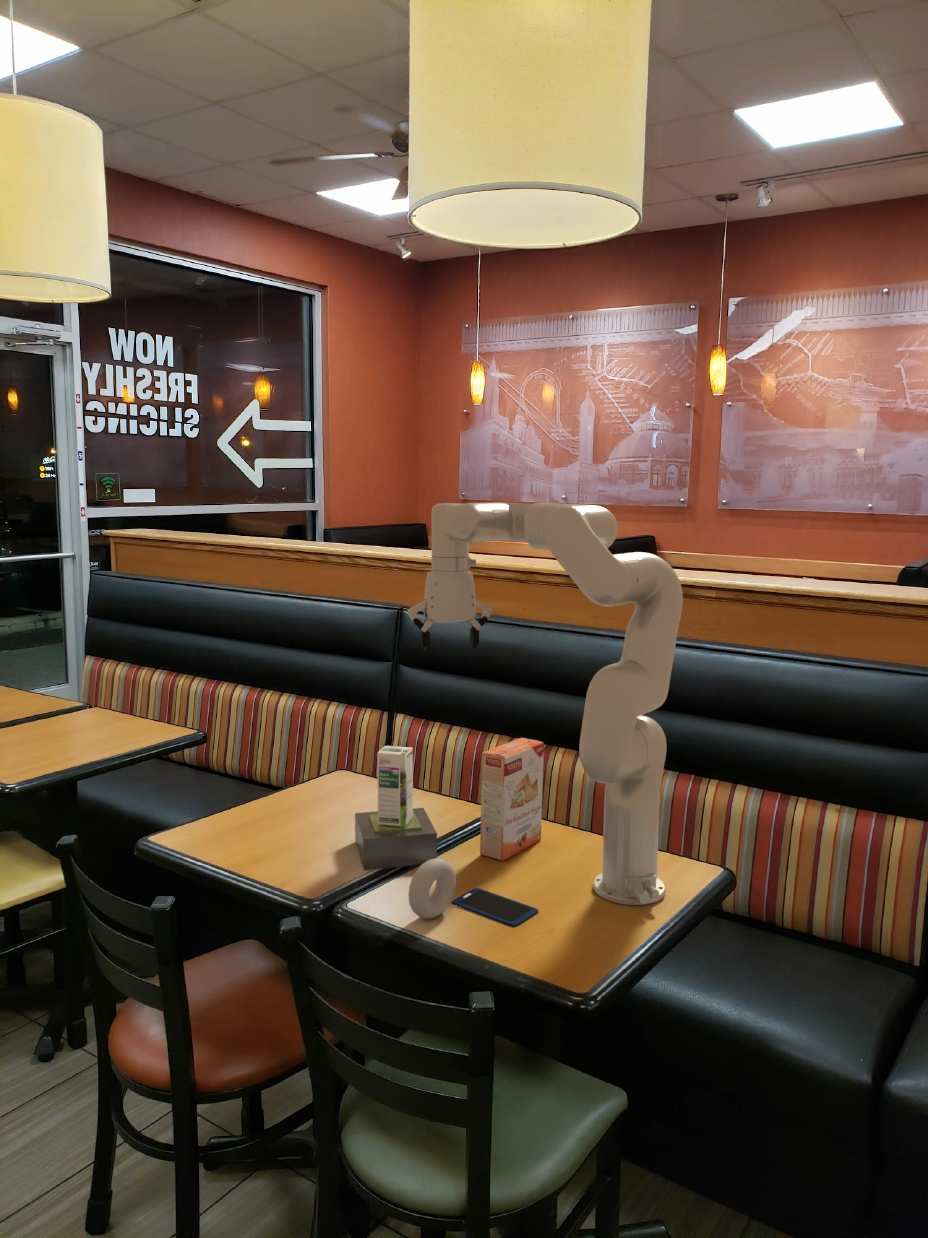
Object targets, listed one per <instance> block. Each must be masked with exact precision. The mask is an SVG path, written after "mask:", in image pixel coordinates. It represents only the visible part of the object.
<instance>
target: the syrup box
mask: <svg viewBox="0 0 928 1238" xmlns="http://www.w3.org/2000/svg"><path fill="white" fill-rule="evenodd" d="M413 751H414V748H413V746H410V747H407V746H394V745H393V746H392V745H385V746H383V747H381V749H380V750H379V751H378V752H377V754H376V760H377V761H376V766H377V770H376V772H377V774H376V775H377V811H378V825H391V826H401V827H405V826H406V825H407V824H408V823H409V821H410V820H411V819H412V817H413V809H414V801H413V800H414V795H413V794H414V793H413V792H414V780H413V779H414V776H413V774H414V773H413V771H414V770H413V769H414V768H413V767H414V765H413V762H414V761H413V759H414V758H413V757H414V756H413Z"/></svg>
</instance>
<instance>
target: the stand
mask: <svg viewBox="0 0 928 1238" xmlns="http://www.w3.org/2000/svg"><path fill="white" fill-rule="evenodd" d="M354 832H355V834H354V835H355V836H354V837H355V838H354V840H355V841H354V842H355V845H356V848H357V852H358V855H359V859H360V862H361V866H362V869H363V871H366V870H368V871H369V870H370V871H371V870H378V869H390V868H399V867H411V866H421V865H422V864H423V863H425V862H426V861H428V860H431V859H435V858H438V832H437V831H436V829H435V827H434V825H433V823H432V821H431V819H430V817H429V816H428V814H427V812H426V810H425V808H424V807H415V808H413V817H412V819H411V820H410V821H409V823H408V824H407V825H406V826H405V827H401V826H391V825H378V810H377V811H368V812H367V811H366V812H355V813H354Z"/></svg>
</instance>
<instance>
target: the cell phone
mask: <svg viewBox="0 0 928 1238" xmlns="http://www.w3.org/2000/svg"><path fill="white" fill-rule="evenodd" d="M453 904H454V906H455V905H457V906H456V907H459V906H460V907H459V908H461V907H462V909H463V908H464V909H463V910H465V911H466V910H467V911H469V910H470V911H469V912H471V911H472V912H471V913H474V912H475V914H477V915H480V916H482V915H483V917H484V918H487V919H491V920H493V921H496V922H499V923H501V924H504V925H506V926H509V927H512V928H517V927H519V926H521V925H522V924H524V923H525V922H527V921H528V920H530V919H532V918H534V917H535V916H537V915H538V914H539V909H538V908H536V907H534V906H531V905H528V904H526V903H523V902H519V901H517V900H514V899H510V898H509V897H505V896H503V895H499V894H497V893H494V892H490V891H489V890H485V889H482V888H479V887H475V888H473V889H470V890H469V891H466V892H465V893H463V894H462V895H459V896H458V897H456V898H454V899H452V900H451V905H453Z"/></svg>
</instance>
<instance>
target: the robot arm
mask: <svg viewBox="0 0 928 1238" xmlns="http://www.w3.org/2000/svg"><path fill="white" fill-rule="evenodd" d="M618 530H619V527H618V522H617V519H616V517H615V516H614V514H613V513H612V512H611V511H610V510H609V509H607V508H605V507H603V506H601V505H596V504H583V503H582V504H581V503H580V504H578V503H555V502H535V503H522V502H521V503H518V502H490V501H489V502H468V503H459V502H458V503H457V502H456V503H455V502H454V503H450V502H448V503H447V502H445V503H444V502H443V503H436V504H435V505H433V506H432V509H431V571H427V574H426V579H425V585H424V595H423V596H424V598H423V601H421V602H418V603H417V604H416V605H413V606H412V607H410V608H408V609H407V612H406V613H408V615H409V618H410V619H411V622H412V623H413V624H414V625H415V626H416V627H417V628H418V629H419V630H420V645H421V647H422V648H423V650H424V651H425V652H426V653H427V652H430V651H431V632H430V631H429V629H430V628H431V627H432V625H433V624H435V623H461V622H463V623H464V622H468V623H469V624H470V625H471V627H470V629H469V647H470V649H472V650H473V651H475V650H476V651H477V647H478V646H479V645H480V630H482V627H483V626H484V625H485V624H486V623H487V622H488V620H489V618H490V616H491V614H492V612H493V607H491V606H489V605H487V604H485V603H483V602H481V601H479V600H477V598H476V589H475V580H474V575H473V571H470V570H471V567H474V566H475V567H476V566H477V561H476V559H474V558H471V557H470V543H481V542H482V543H483V542H497V541H498V542H499V541H508V542H509V541H510V542H523V543H527V544H528V545H529V546H530V547H531V548H533V549H534V550H535V549H536V550H545V551H550V552H551V554H552V555H553V556H554V557H553V558H554V559H555V560H556V561H557V562H558V564H559V565H560V566H561V567H562V568H563V570H564V571H565V573H566V574H567V575H568V576H569V577H570V579H571V580H572V581H573V583H574V584H575V585H576V586H577V587H578V588H579V590H580V591H581V592H582V594H584V596H585V597H586V598H588V599H589V600H590V601H591V602H592V603H594V604H596V605H598V606H602V607H606V608H607V607H617V606H622V605H628V604H634V610H633V612H632V615H631V617H630V618H629V621H628V624H627V626H626V630H625V636H624V641H623V642H624V643H623V649H622V653H621V657H620V660H619V661H618V662H614V663H612V664H608V665H606V666H604V667H602V668H601V669H599V670H598V671H596V673H595V674H594V675H593V677H592V679H591V681H590V682H589V685H588V688H587V690H586V691H587V692H586V697H585V700H584V701H585V703H584V710H583V715H582V716H583V717H582V724H581V729H580V730H581V731H580V737H579V744H578V745H579V748H578V750H579V752H578V753H579V761H580V764H581V766H582V769H583V771H584V772H585V773H586V775H587V776H588V777H589V778H591V779H592V780H593V781H595V782H596V783H600V784H605V788H604V804H603V805H604V806H603V832H602V833H603V834H602V835H603V836H602V838H603V839H602V843H603V844H602V870H601V871H602V872H601V873H599V874H598V875H596V877H594V879H593V881H592V887H593V890H594V892H595V893H596V894H597V895H598V896H600V897H601V898H602V899H605V900H607V901H609V902H612V903H616V904H618V905H619V904H620V905H626V906H643V905H644V906H645V905H650V904H654V903H656V902H659V901H660V900H662V899H663V898H664V896H665V895H666V885H665V883H664V881H662V879H660V878H659V877H657V876H658V853H659V852H658V851H659V828H660V827H659V825H660V806H661V805H660V802H661V787H662V777H663V773H664V772H663V771H664V769H665V768H664V767H665V763H666V757H667V738H666V735H665V732H664V730H663V728H662V727H661V725H660V724H659V723H658V722H657V721H656V720H655V719H653V718H651V717H649V716H646V715H645V714H648V713H650V712H653V711H655V710H656V709H659V708H660V707H661V706H662V705H664V703H665V701H666V700H667V699H668V698H667V697H668V694H669V689H670V682H671V677H672V676H671V675H672V670H673V665H674V664H673V663H674V657H675V652H676V644H677V637H678V632H679V626H680V621H681V616H682V612H683V605H684V604H683V602H684V601H683V600H684V595H683V588H682V584H681V580H680V578H679V577H678V575H677V573H676V571H675V570H674V568H673V567H672V566H671V565H670V564H669V563H668V562H667V561H666V560H665V559H663V558H662V557H660V556H659V555H656V554H653V553H650V552H643V551H634V552H632V551H631V552H624V553H615V554H613V553H611V551H610V550H609V548H610V547H611V546H612V545H613V543H614V542H615V540H616V539H617V536H618ZM477 608H478V609H480V610H482V615H481V616H480V617H479V618H478V619H476V616H477ZM422 610H423V616H424V619H423V620H422V621H421V620H420V619H419V617H418V616H417V613H419V612H421V611H422Z"/></svg>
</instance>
